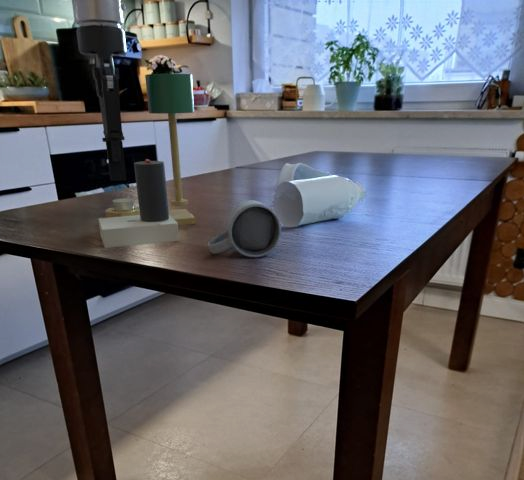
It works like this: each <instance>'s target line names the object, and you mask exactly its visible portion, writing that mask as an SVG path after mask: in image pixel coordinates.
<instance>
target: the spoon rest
mask: <svg viewBox="0 0 524 480" xmlns="http://www.w3.org/2000/svg"><path fill="white" fill-rule="evenodd" d="M330 173H331V172H329V171H322V170H319V169H316V168H314V167H311V166H309V165H308V164H304V163H301V162H299V163H295V164H291V163H285V164H284V165H283V166H282V168H281V169H280V172H279V175H278V177H277V180H276V184H275V187H276V186H278V185H279V184H280V183H282V182H288V181H296V180H305V179H313V178H319V177H326V176H330V175H331V174H330ZM274 190H275V191H274V194H275V193H276V188H275V189H274Z"/></svg>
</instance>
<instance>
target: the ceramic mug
mask: <svg viewBox="0 0 524 480" xmlns="http://www.w3.org/2000/svg"><path fill="white" fill-rule="evenodd" d="M281 236H282V223H281V222H280V220H279V218H278V216H277V214H276V213H275V211H274V209H272V208H271V207H269V206H267V205H266V204H264V203H263V202H261V201H258V200H254V199H248V200H243V201H241V202H239V203H238V204H236V205H235V206H234V207H233V208H232V209H231V211H230V213H229V215H228V217H227V230H224V231H223V232H221V233H219V234H217V235H216V236H214V237H213V238H211V239H210V240H209V241H208V243H207V248H208V249H209V251H210V253H211V254H213V255H217V254H221V253H224V252H226V251H228V250H230V249H232V248H234V250H236V251H237V252H238V253H239V254H240V255H242V256H244V257H247V258H262V257H264V256H267V255H270V253H272V252H273V251H274V250H275V248H276V247H277V246H278V244H279V242H280V239H281Z"/></svg>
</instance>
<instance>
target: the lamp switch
mask: <svg viewBox="0 0 524 480" xmlns="http://www.w3.org/2000/svg"><path fill="white" fill-rule="evenodd" d="M133 206H134V200H133V198H115V199H112V207H113V208H114V211H117V212H123V211H131V210H134V207H133Z"/></svg>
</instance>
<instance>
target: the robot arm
mask: <svg viewBox="0 0 524 480" xmlns="http://www.w3.org/2000/svg"><path fill="white" fill-rule="evenodd" d="M71 6H72V13H73V20H74V23H75V24H76V25H78V27H77V29H76V30H75V31H76V40H77V47H78V52H79V53H80V54H81V55H83V56H90V57H91V56H94V57H95V65H96V67H93V68H91V69H92V77H93V80H94V81H95V89H96V90H95V91H96V96H97V97H98V99H99V107H100V114H101V120H102V126H103V131H102V133H103V135H104V137H101V140H102V142H103V143H105V146H106V156H107V163H108V170H109V171H108V172H109V178H110V182H119V181H120V182H121V181H122V182H123V181H127V180H128V178H127V172H126V171H127V170H126V160H125V154H124V153H125V152H124V144H123V141H125V136H124V132H123V125H122V113H121V104H120V103H121V102H120V96H121V92H120V85H119V84H120V83H119V79H120V70H119V67H115V64H114V58H113V57H123V56H125V55H127V53H128V52H127V42H126V32H125V31H124V29H123V28H121V26H123V24H124V16H123V15H124V13H123V11H126V10H127V8H126V7H127V6H126V4H125V3H123V2H121V0H71Z"/></svg>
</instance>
